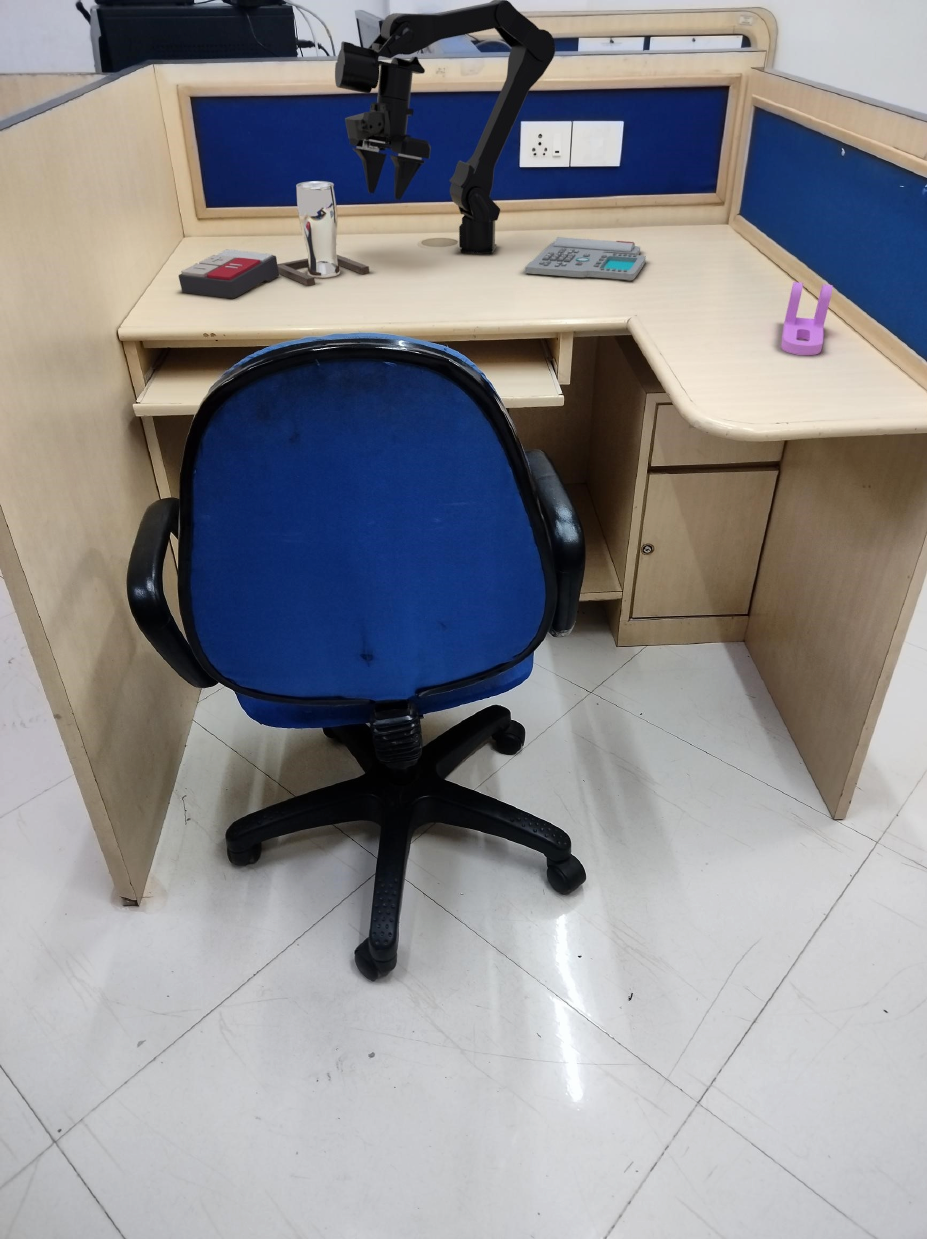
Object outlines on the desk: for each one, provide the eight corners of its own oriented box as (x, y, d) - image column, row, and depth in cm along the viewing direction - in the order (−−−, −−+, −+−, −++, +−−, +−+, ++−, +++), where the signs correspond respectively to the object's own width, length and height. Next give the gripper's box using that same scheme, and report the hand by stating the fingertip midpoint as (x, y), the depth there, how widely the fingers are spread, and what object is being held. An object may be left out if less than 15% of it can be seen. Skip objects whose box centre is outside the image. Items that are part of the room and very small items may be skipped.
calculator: (175, 270, 146) (225, 245, 156) (181, 296, 148) (230, 269, 159) (229, 277, 142) (276, 250, 153) (234, 302, 145) (280, 275, 156)
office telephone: (555, 232, 172) (653, 239, 167) (554, 245, 174) (652, 253, 169) (525, 259, 155) (634, 267, 149) (524, 273, 156) (632, 283, 151)
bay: (369, 272, 158) (369, 266, 157) (307, 285, 151) (306, 278, 150) (334, 259, 165) (333, 253, 165) (274, 271, 159) (273, 264, 158)
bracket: (783, 325, 132) (793, 279, 128) (821, 328, 131) (832, 282, 127) (780, 352, 123) (791, 303, 118) (820, 357, 121) (833, 307, 117)
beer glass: (347, 269, 160) (339, 181, 151) (336, 279, 154) (328, 188, 145) (311, 267, 161) (302, 180, 152) (300, 277, 155) (289, 187, 146)
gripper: (327, 87, 151) (321, 184, 158) (383, 92, 139) (373, 197, 146) (380, 99, 157) (371, 191, 165) (437, 105, 145) (425, 204, 152)
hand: (383, 196), depth 157 cm, fingers open, 9 cm apart
